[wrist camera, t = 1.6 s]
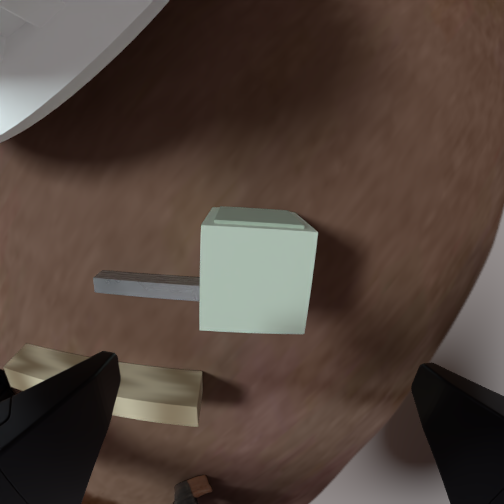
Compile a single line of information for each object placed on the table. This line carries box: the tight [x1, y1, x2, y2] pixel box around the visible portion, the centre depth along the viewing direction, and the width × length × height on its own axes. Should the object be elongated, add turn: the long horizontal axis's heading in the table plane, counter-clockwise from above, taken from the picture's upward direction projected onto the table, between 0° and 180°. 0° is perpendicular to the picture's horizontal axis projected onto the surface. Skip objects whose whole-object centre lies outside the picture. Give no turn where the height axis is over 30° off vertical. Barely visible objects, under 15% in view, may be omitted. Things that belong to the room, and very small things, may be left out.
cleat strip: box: [93, 270, 200, 301], centre depth 19 cm, size 7×1×2 cm, turn 86°
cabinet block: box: [200, 206, 318, 334], centre depth 17 cm, size 5×5×6 cm
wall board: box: [3, 343, 203, 427], centre depth 20 cm, size 16×2×4 cm, turn 86°
